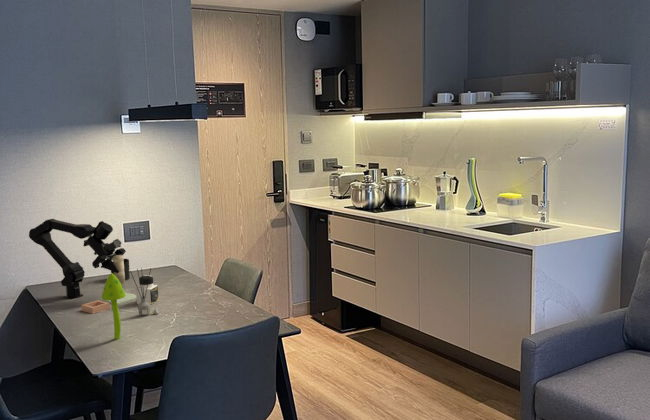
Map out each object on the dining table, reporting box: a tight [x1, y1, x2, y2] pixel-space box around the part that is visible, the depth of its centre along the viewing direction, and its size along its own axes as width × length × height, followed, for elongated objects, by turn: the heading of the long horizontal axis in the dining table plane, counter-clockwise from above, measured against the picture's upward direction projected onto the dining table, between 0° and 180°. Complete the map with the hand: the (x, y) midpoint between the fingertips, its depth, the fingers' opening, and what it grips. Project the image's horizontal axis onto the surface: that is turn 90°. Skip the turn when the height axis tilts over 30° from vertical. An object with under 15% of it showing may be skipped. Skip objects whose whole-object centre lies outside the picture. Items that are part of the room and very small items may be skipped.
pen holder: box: [110, 258, 131, 282], centre depth 322 cm, size 9×9×10 cm
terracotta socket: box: [80, 299, 111, 314], centre depth 270 cm, size 8×8×2 cm
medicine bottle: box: [135, 274, 160, 306], centre depth 278 cm, size 7×7×12 cm
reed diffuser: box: [129, 267, 160, 316], centre depth 260 cm, size 10×7×20 cm
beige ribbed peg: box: [112, 255, 126, 287], centre depth 283 cm, size 4×4×14 cm
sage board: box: [99, 291, 137, 306], centre depth 285 cm, size 13×13×1 cm
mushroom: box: [101, 272, 126, 340], centre depth 231 cm, size 8×8×25 cm
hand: (121, 271), depth 283 cm, fingers closed on beige ribbed peg, 4 cm apart
